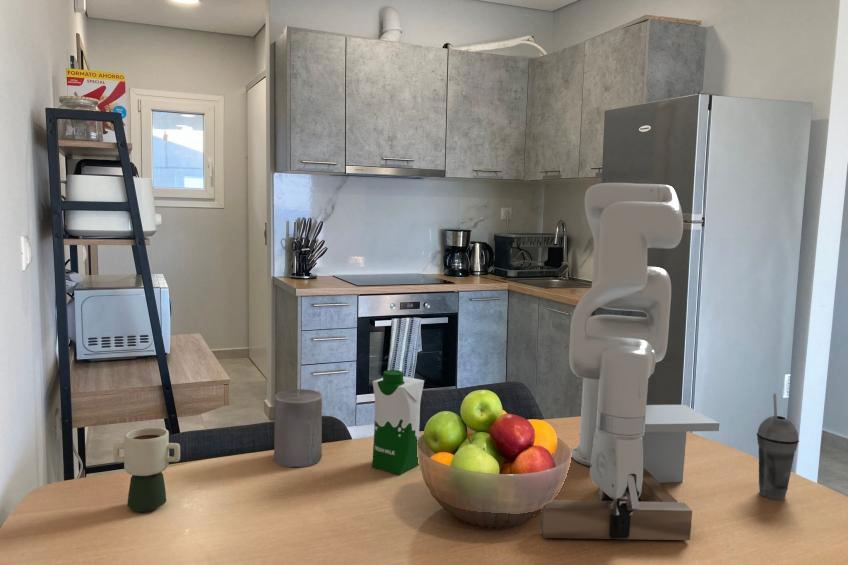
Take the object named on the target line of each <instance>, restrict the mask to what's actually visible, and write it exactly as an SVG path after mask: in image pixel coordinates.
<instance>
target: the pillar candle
mask: <svg viewBox="0 0 848 565" xmlns="http://www.w3.org/2000/svg"><path fill="white" fill-rule="evenodd" d="M322 402H323V394H322V393H321V392H319V391H316V390H313V389H301V388H299V389H287V390H282V391H280V392H277V393H276V394H275V395H274V434H273V435H274V443H273V445H274V450H273V455H274V456H273V459H274V462H275V464H277V465H279V466H281V467H284V468H297V467H298V468H301V467H302V468H307V467H312V466H314V465H316V464H318V463H320V461H321V460H322V457H323V450H322V445H323V444H322V442H323V439H322V437H323V436H322V429H323V428H322V424H323V420H322V419H323V416H322V414H323V413H322V412H323V403H322Z"/></svg>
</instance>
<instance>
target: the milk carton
mask: <svg viewBox="0 0 848 565" xmlns="http://www.w3.org/2000/svg"><path fill="white" fill-rule="evenodd" d="M424 383H425V380H423V379H419V378H413V377H407V376H404V372H403V371H401V370H396V369H394V370H393V369H391V370H390V369H387V370H384V371H383V372H382V377H381V378H378V379H375V380H373V381H372V387H373V388H372V389H373V395H374V417H373V418H374V420H373V422H374V425H373V444H372V445H373V446H372V451H373V452H372V460H371V461H372V463H371V467H372V468H375V469H377V470H381V471H385V472H389V473H391V474H395V475H399V476H401V475H403V474H404V473H406V472H408V471H410V470H412V469H414V468H416V467H418V466H420V463H419V464H418V457H417V441H418V439H420V415H421V413H420V412H421V400H422V395H423V389H424V385H425V384H424Z"/></svg>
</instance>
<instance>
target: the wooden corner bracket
mask: <svg viewBox="0 0 848 565" xmlns="http://www.w3.org/2000/svg"><path fill="white" fill-rule="evenodd" d="M638 499H639V500H641V501H639V500H638V502H639V509H636V510H634V511H633V512H632V515H631V518H630V532H629V537H628V538H616V539H615V540H651V541H652V540H657V541H658V540H659V541H662V540H665V541H669V540H670V541H690V540H691V530H692V521H693V520H692V519H693V510H692V509H691V508H690V507H689V505H688V504H686V503H685V502H680V501H677V500H676V499H675V497H674V496H673V495H671V493H670V492H669V491H668V490H667V489H666V488H665V487H664V486H663V485H662V483H659V482H658V481H657V480H656V479H655V478H654V477H653V476H652V475H651V474H650V473H649V472H648V471H647V470H646V469H645V468H643V481H642V491H641V495H640V497H639V498H638ZM552 500H553V501H552V502H551V503H548V504H546V505H544V507H543V509H542V512H541V511H540V516H539V517H540V518H539V520H540V521H539V530H540V532H541V534H542V537H543V538H544V539H592V540H593V539H594V540H595V539H596V540H598V539H600V540H601V539H603V540H605V539H606V540H613V539H612V538H611V537H610V536H609V531H610V516H611V513H613V501H599V500H583V499H582V500H581V499H579V500H577V499H576V500H575V499H572V500H571V499H552ZM622 503H626V500H620V505H621V504H622Z"/></svg>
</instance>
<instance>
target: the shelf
mask: <svg viewBox="0 0 848 565" xmlns="http://www.w3.org/2000/svg"><path fill="white" fill-rule="evenodd" d="M719 431H720V422H718V421H717V420H715V419H712V418H710V417H708V416H706V415H705V414H703V413H701V412H700V411H697V410H695V409H694V408H692V407H690V406H688V405H686V404H646V418H645V432H644V436H642V443H643V468H645V469H646V470H647V471H648V472H649V473H650V474H651V475H652V476H653V477H654V478H655V479H656V480H657V481H658V482H659V483H660V484H664V483H683V482H684V481H683V480H684V469H685V456H686V444H687V443H686V442H687V433H688V432H689V433H690V432H719Z"/></svg>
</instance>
